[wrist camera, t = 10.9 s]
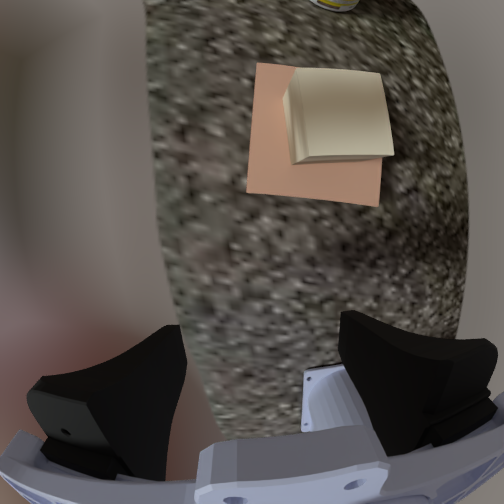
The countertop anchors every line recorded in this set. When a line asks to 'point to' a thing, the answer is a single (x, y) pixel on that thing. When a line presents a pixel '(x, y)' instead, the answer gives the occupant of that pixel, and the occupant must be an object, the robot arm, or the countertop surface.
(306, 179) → the terracotta box
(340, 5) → the supplement bottle
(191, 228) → the countertop surface
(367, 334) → the robot arm
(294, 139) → the metal block
